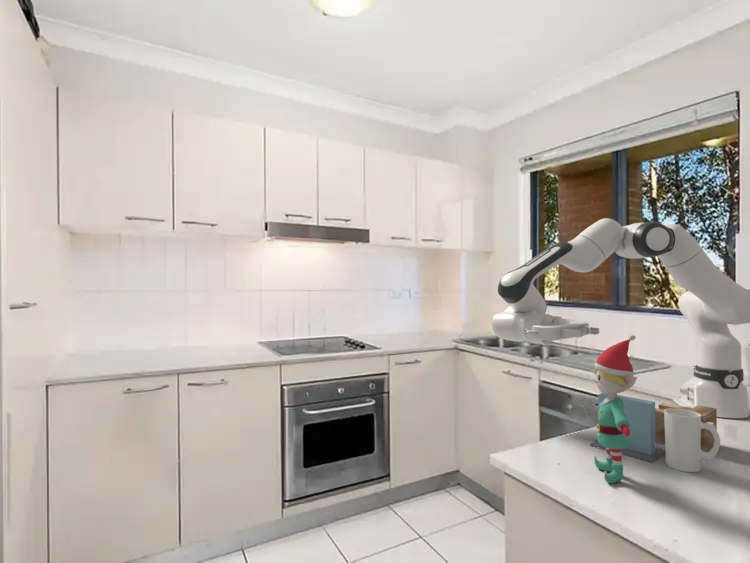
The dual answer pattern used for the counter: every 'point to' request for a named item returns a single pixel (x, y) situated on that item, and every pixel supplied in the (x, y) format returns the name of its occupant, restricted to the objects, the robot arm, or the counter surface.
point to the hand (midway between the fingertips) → (590, 332)
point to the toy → (613, 407)
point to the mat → (637, 453)
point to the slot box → (706, 412)
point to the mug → (686, 439)
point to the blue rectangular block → (638, 423)
